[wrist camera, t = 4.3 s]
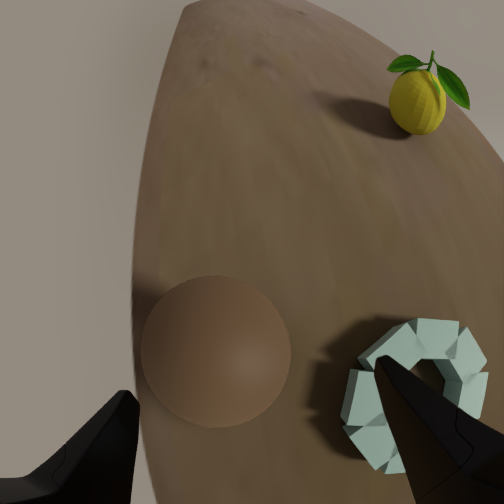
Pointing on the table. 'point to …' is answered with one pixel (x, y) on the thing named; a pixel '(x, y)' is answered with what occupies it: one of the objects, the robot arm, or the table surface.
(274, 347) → the dowel
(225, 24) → the table surface
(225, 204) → the table surface
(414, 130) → the lemon
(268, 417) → the table surface
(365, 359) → the ring
